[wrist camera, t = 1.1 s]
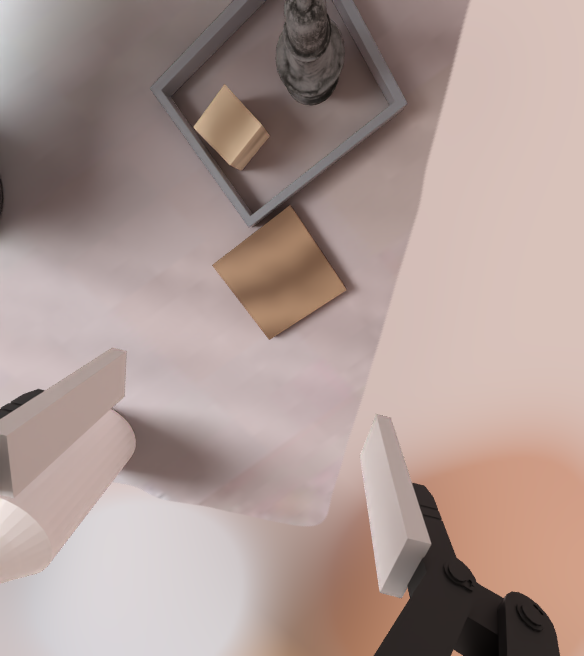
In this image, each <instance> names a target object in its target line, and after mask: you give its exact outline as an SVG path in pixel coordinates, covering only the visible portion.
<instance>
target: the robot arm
mask: <svg viewBox="0 0 584 656" xmlns="http://www.w3.org/2000/svg"><path fill="white" fill-rule="evenodd" d="M1 209H2V186H1V181H0V214H1ZM126 354H127V351H123V350H119V349H115V348H111V349H109V350H108V351H106V352H105V353H103V354H102V355H100V356H99V357H97V358H95V359H94V360H92V361H91V362H89V363H88V364H86V365H84V366H83V367H81V368H80V369H78V370H77V371H75V372H73V373H72V374H70V375H69V376H67V377H66V378H64V379H62V380H61V381H59V382H58V383H56V384H55V385H53V386H52V387H50V388H48V389H47V390H41V389H37V390H34V391H31V392H28V393H26V394H23V395H21V396H20V397H18V398H16V399H15V400H13V401H11V403H8V404H6V405H5V406H3V407H1V409H0V495H2V496H6V497H10V498H15V497H16V496H17V495H18V494H19V493H20V492H21V491H22V490H23V489H24V488H26V487H27V486H28V485H29V484H30V483H31V482H32V481H33V480H34V479H35V478H36V477H37V476H39V475H40V474H41V473H42V472H43V471H44V470H45V469H46V468H47V467H48V466H49V465H50V464H52V463H53V462H54V461H55V460H56V459H57V458H58V457H59V456H60V455H61V454H62V453H64V452H65V451H66V450H67V449H68V448H69V447H70V446H71V445H72V444H73V443H74V442H75V441H77V440H78V439H79V438H80V437H81V436H82V435H83V434H84V433H85V432H86V431H87V430H88V429H90V428H91V427H92V426H93V425H94V424H95V423H96V422H97V421H98V420H99V419H100V418H102V417H103V416H104V415H105V414H106V413H107V412H108V411H109V410H110V409H111V408H112V407H113V406H115V405H116V404H117V403H118V402H119V401H120V400H121V399H122V398H123V397H124V396H125V376H126ZM360 459H361V466H362V473H363V480H364V487H365V494H366V500H367V507H368V514H369V521H370V528H371V534H372V542H373V548H374V556H375V562H376V569H377V576H378V583H379V590H380V593H383V594H387V595H391V596H395V597H399V598H402V596H403V595H404V593H405V591H406V589H407V587H408V591H409V596H410V599H409V601H408V602H407V604H406V606H405V607H404V609H403V610H402V612H401V613H400V615H399V617H398V618H397V620H396V621H395V623H394V625H393V626H392V628H391V629H390V631H389V633H388V634H387V636H386V637H385V639H384V640H383V642H382V644H381V645H380V647H379V648H378V650H377V651H376V653H375V655H374V656H451V654H452V651H453V649H454V650H456V651H457V652H458V653H460V654H462V655H463V656H560V653H559V647H558V641H557V636H556V632H555V629H554V626H553V624H552V622H551V620H550V619H549V617H548V616H547V614H546V613H545V612H544V611H543V610H542V609H541V608H540V607H539V605H538V604H537V603H535V602H534V601H533V600H531V599H530V598H529V597H527V596H525V595H523V594H521V593H519V592H510V593H508V594H507V595H506V596H505V598H502V597H500V596H499V595H497V594H495V593H493V592H492V591H490V590H488V589H486V588H484V587H483V586H481V585H480V584H478V583H477V582H476V579H475V577H474V576H473V574H472V572H471V571H470V569H468V567H467V566H466V565H465V564H464V563H463V562H461V561H460V560H459V559H457V558H456V555H455V553H454V550H453V548H452V545H451V542H450V539H449V537H448V534H447V532H446V529H445V526H444V524H443V521H441V516H440V513H439V511H438V508H437V505H436V503H435V500H434V498H433V496H432V495H431V493H430V492H429V491H428V490H427V488H426V487H425V486H423V485H419V484H415V483H412V482H411V479H410V476H409V473H408V470H407V466H406V463H405V460H404V457H403V454H402V451H401V448H400V445H399V442H398V438H397V436H396V432H395V429H394V426H393V423H392V420H391V418H390V417H387V416H383V415H378V414H376V415H375V418H374V421H373V423H372V426H371V429H370V431H369V434H368V436H367V439H366V441H365V444H364V447H363V449H362V452H361V455H360Z"/></svg>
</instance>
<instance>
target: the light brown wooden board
mask: <svg viewBox="0 0 584 656" xmlns="http://www.w3.org/2000/svg"><path fill="white" fill-rule="evenodd" d="M212 266H213V267H214V268H215V270H216V271H217V272H218V273H219V275H220V276H221V277H222V279H223V280H224V281H225V283H226V284H227V285H228V287H229V288H230V289H231V290H232V292H233V293H234V294H235V296H236V297H237V298H238V300H239V301H240V302H241V304H242V305H243V306H244V307H245V309H246V310H247V311H248V313H249V314H250V315H251V317H252V318H253V319H254V321H255V322H256V323H257V324H258V326H259V327H260V328H261V330H262V331H263V332H264V334H265V335H266V336H267V338H268V339H269V340H270V339H272V338H273V337H275V336H276V335H278V334H279V333H281V332H282V331H284V330H285V329H287V328H289V327H290V326H292V325H293V324H295V323H296V322H298V321H299V320H301V319H303V318H304V317H306V316H307V315H309V314H310V313H312V312H313V311H315V310H316V309H318V308H320V307H321V306H323V305H324V304H326V303H327V302H329V301H330V300H332V299H333V298H335V297H337V296H338V295H340V294H341V293H343V292H344V291H346V287H345V286H344V284H343V283H342V281H341V280H340V278H339V277H338V275H337V274H336V272H335V271H334V269H333V268H332V266H331V265H330V263H329V262H328V260H327V259H326V257H325V256H324V254H323V253H322V251H321V250H320V248H319V247H318V245H317V244H316V242H315V241H314V239H313V238H312V236H311V235H310V233H309V232H308V230H307V229H306V227H305V226H304V224H303V223H302V221H301V220H300V218H299V217H298V215H297V214H296V212H295V211H294V209H293V208H292V206H291V205H290V206H288V207H287V208H286V209H284V210H283V211H282V212H280V213H279V214H278V215H277V216H275V217H274V218H273V219H271V220H270V221H269V222H268V223H266V224H265V225H264V226H262V227H261V228H260V229H258V230H257V231H256V232H255V233H253V234H252V235H251V236H249V237H248V238H247V239H245V240H244V241H243V242H242V243H240V244H239V245H238V246H236V247H235V248H234V249H233V250H231V251H230V252H229V253H227V254H226V255H225V256H223V257H222V258H221V259H220V260H218V261H217V262H216V263H214V264H213V265H212Z"/></svg>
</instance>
